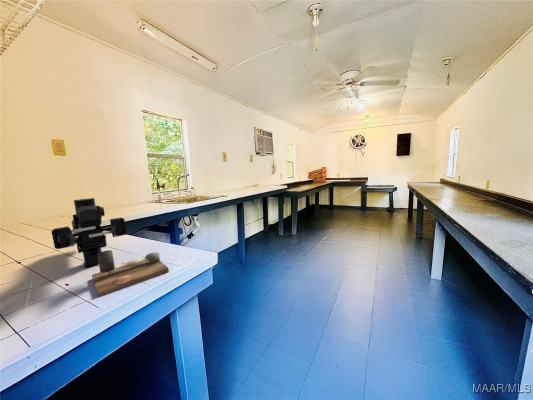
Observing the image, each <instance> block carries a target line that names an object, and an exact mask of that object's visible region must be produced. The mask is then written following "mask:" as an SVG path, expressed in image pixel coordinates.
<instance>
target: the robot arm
mask: <svg viewBox="0 0 533 400" xmlns="http://www.w3.org/2000/svg"><path fill="white" fill-rule="evenodd" d="M73 203H74V209H75V214H73V215H72V221H71V227H72V229H71V227H69V225H67V226H62V227H56V228H52V230H51V236H52V241H53V245H54V248H55V250H61V249H66V248H71V247H74V246H76V247H77V252H78V254H81V253H82V255H83V260H84V261H83V263H82V264H83V266H84V267H83V268H84V269H87V268H88V269H89V268H92V267H95V266H99V262H98V256H97V254H98V253H100V252H103V251H102V248H106V247H107V246H108V245H107V244H108V243H107V235H109V234H111V235H112V238H117V237H122V236H126V234H127V227H126V221H125V218H123V217H117V218H110V220H109V222H110V226H105V227H102V226H101V225H102V217H105V215H106V213H105V209H104V206H100V205H96V201H95V198H94V197H91V198H90V197H89V198H81V199H80V198H79V199H74V200H73Z"/></svg>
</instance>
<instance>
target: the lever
mask: <svg viewBox="0 0 533 400" xmlns="http://www.w3.org/2000/svg"><path fill="white" fill-rule="evenodd" d="M113 255H114V254H113V250H110V249H108V250H104V251H102V252H100V253H98V254H97V256H98V262H99V265H98V267H99V273H100V272H101V273H105V272H108V274H111V273H115V272H118V271H121V270H125V269H128V268H131V267H134V266H138V265H141V264H144V263H155V262H158V261H159V260H160V253H159V252H156V251H155V252H150V253H148V254H146V255H145V257H141V258H137V259H134V260H130V261H127V262H123V263H120V264H115V261H114V256H113ZM160 261H161V260H160Z"/></svg>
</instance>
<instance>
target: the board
mask: <svg viewBox="0 0 533 400" xmlns="http://www.w3.org/2000/svg"><path fill="white" fill-rule="evenodd" d="M169 270H170V269H169V267H168V266H167V265H166V264H165V263H164V262H162V261H161V260H159V261H158V262H155V263H144V264H141V265H138V266H134V267H131V268H128V269H125V270H121V271H118V272H115V273H111V274H108V272H105V273H101V272H100V271H99V272H97V273H94V274H91V279H92V282H93V285H94V287H95V291H96V293H97V296H98V297H101V296H105V295H108V294H110V293H113V292H117V291H120V290H122V289H124V288H128V287H129V286H133V285H136V284H138V283H142V282H144V281H147V280H150V279H152V278H155V277H159V276H160V275H164V274H166V273H169V272H170V271H169Z"/></svg>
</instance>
